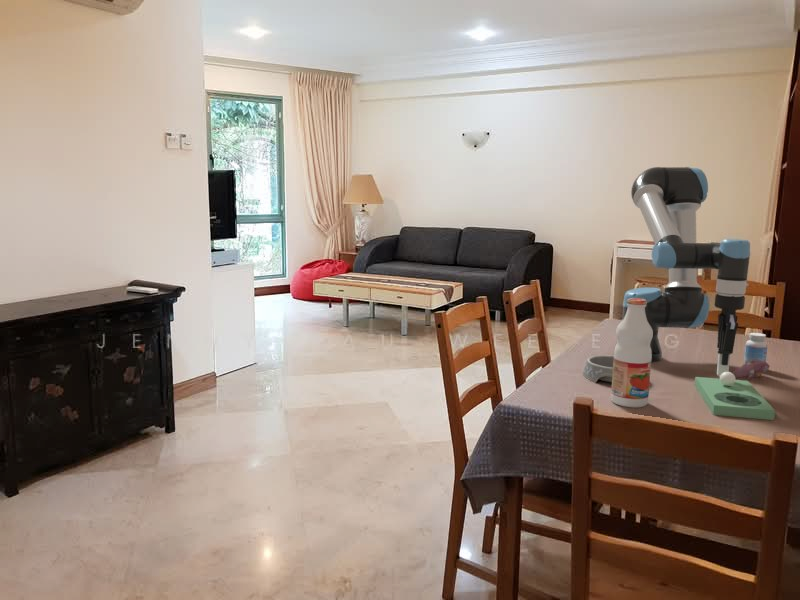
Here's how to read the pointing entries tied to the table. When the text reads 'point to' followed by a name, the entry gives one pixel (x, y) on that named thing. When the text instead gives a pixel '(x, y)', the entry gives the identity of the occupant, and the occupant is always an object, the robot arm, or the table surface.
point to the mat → (733, 399)
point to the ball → (727, 378)
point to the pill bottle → (755, 348)
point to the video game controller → (752, 369)
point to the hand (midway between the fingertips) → (722, 375)
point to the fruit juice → (632, 357)
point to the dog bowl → (599, 368)
